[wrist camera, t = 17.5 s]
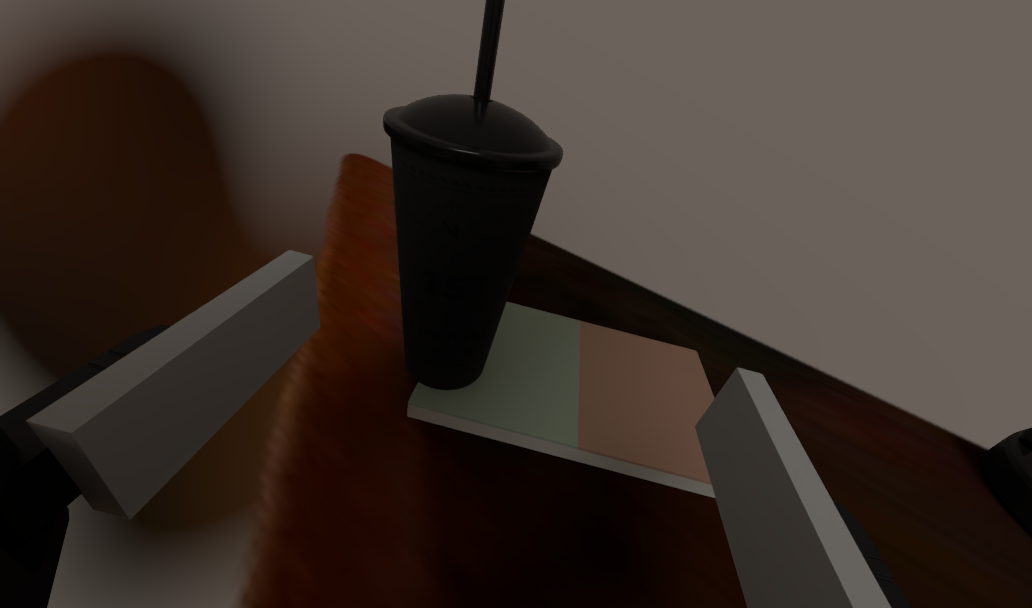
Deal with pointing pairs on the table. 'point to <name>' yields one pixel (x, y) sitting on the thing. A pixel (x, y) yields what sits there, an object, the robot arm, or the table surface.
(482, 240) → the drinking cup
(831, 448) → the table surface
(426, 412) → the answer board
